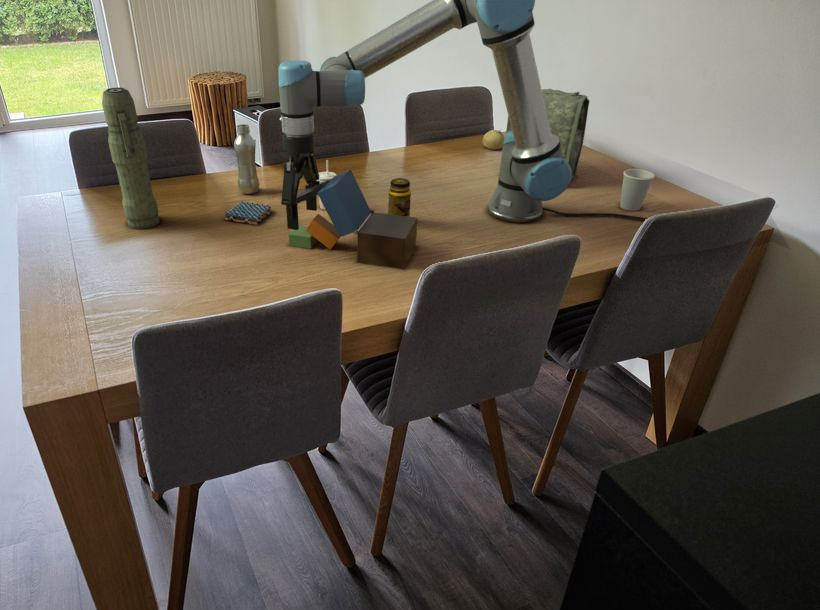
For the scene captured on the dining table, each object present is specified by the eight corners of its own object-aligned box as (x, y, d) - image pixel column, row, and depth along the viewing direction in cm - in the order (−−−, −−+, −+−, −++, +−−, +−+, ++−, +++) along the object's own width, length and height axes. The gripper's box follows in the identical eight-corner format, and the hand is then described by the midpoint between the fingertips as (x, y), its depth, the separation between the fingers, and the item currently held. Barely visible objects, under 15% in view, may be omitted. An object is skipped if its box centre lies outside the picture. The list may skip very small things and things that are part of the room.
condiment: (407, 229, 167) (409, 186, 160) (377, 225, 169) (378, 183, 162) (413, 218, 173) (415, 177, 166) (384, 215, 175) (385, 174, 168)
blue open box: (350, 167, 151) (304, 187, 158) (333, 184, 142) (286, 204, 149) (371, 212, 156) (326, 229, 163) (357, 230, 147) (310, 248, 154)
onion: (481, 151, 223) (484, 131, 219) (481, 144, 230) (484, 125, 225) (504, 152, 222) (506, 132, 218) (503, 145, 228) (506, 126, 224)
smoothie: (334, 212, 177) (333, 164, 169) (313, 210, 178) (311, 163, 170) (339, 204, 182) (339, 157, 174) (318, 202, 183) (317, 155, 175)
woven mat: (223, 220, 172) (222, 213, 171) (241, 207, 180) (240, 200, 179) (256, 226, 169) (255, 219, 168) (273, 211, 177) (272, 205, 176)
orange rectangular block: (311, 224, 159) (335, 243, 160) (305, 230, 156) (330, 249, 157) (318, 213, 157) (343, 232, 157) (312, 219, 154) (338, 238, 154)
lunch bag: (578, 174, 203) (597, 86, 187) (563, 189, 191) (582, 97, 176) (513, 162, 212) (526, 78, 196) (496, 176, 201) (508, 88, 185)
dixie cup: (649, 206, 180) (659, 173, 174) (638, 214, 175) (648, 180, 170) (622, 199, 185) (630, 166, 179) (610, 207, 180) (618, 173, 174)
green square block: (297, 236, 164) (318, 239, 162) (289, 245, 159) (310, 248, 157) (297, 225, 162) (318, 227, 160) (288, 234, 157) (310, 237, 156)
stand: (416, 245, 159) (418, 214, 154) (402, 270, 148) (404, 237, 143) (370, 239, 162) (371, 208, 157) (353, 262, 151) (353, 230, 146)
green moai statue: (154, 212, 177) (128, 82, 157) (165, 226, 168) (139, 92, 148) (122, 218, 173) (92, 86, 153) (132, 233, 165) (101, 96, 145)
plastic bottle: (234, 194, 188) (226, 127, 177) (245, 187, 193) (239, 122, 182) (253, 197, 186) (246, 130, 175) (263, 190, 191) (258, 124, 180)
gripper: (302, 118, 155) (306, 200, 167) (261, 146, 136) (269, 236, 148) (330, 121, 153) (332, 203, 165) (293, 149, 134) (298, 240, 146)
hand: (302, 219), depth 157 cm, fingers open, 12 cm apart
